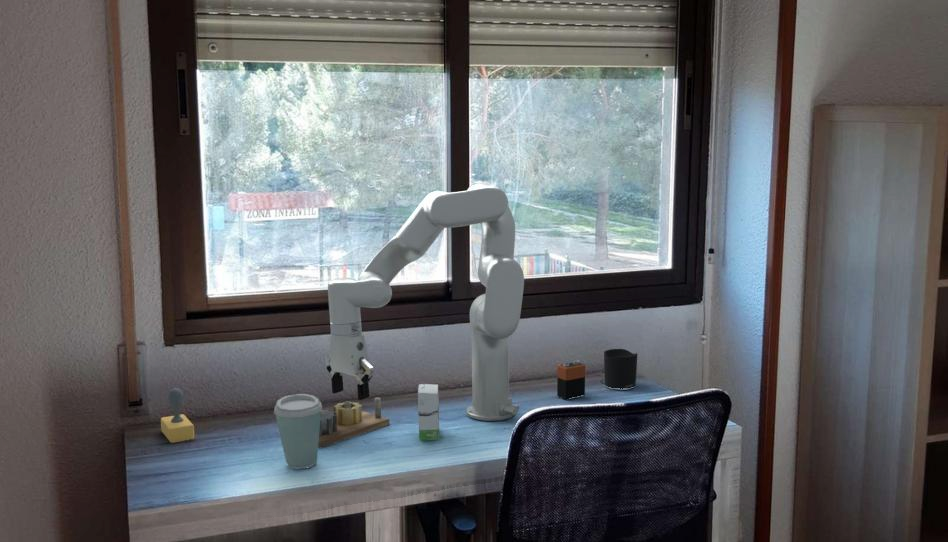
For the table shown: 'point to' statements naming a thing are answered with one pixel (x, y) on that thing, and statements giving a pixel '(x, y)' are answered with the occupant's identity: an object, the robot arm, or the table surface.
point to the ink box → (428, 412)
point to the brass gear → (348, 414)
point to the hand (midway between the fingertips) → (350, 395)
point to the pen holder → (620, 368)
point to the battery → (570, 379)
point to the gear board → (336, 433)
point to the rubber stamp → (177, 420)
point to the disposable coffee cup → (299, 428)
